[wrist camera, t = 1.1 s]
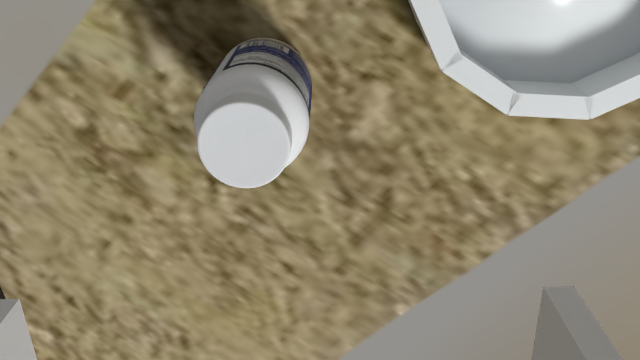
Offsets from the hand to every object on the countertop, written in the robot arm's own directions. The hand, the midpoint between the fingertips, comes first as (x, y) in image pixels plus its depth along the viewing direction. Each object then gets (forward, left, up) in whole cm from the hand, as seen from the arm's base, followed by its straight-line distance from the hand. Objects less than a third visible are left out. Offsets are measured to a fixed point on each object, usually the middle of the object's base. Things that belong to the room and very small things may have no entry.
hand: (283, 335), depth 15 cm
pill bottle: (-3, +1, -21) cm, 21 cm away
